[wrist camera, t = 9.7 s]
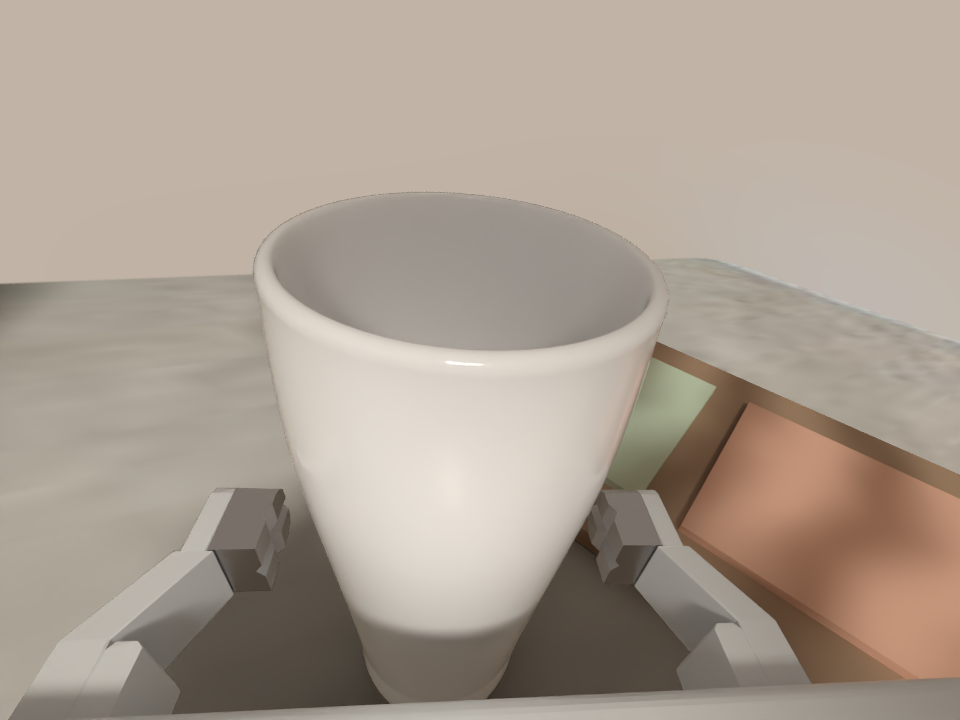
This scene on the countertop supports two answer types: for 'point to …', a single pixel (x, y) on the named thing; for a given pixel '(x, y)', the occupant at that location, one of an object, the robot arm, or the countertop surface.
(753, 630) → the robot arm
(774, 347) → the countertop surface
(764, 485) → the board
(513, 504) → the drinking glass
